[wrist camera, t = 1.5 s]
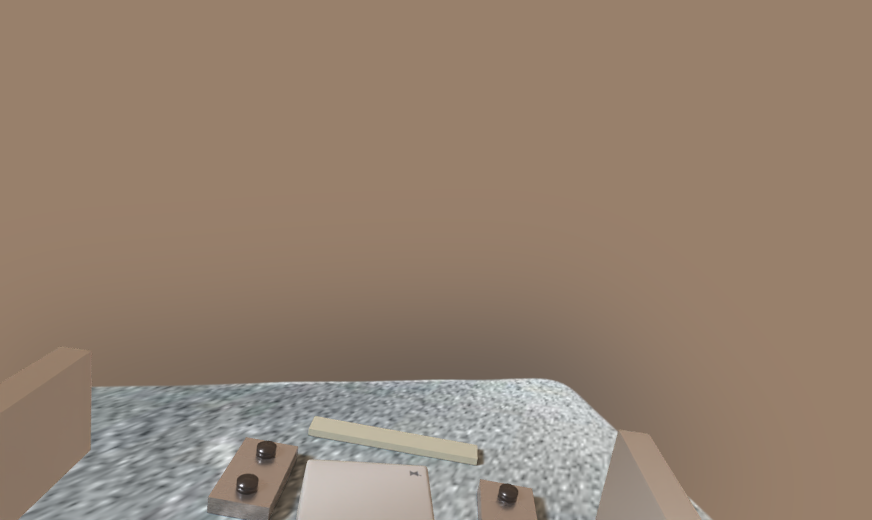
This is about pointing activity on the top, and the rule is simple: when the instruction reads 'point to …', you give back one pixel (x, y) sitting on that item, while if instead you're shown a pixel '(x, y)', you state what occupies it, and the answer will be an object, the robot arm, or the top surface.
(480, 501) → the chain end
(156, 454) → the top surface
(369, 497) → the skincare box
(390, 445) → the cream long thin bar
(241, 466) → the block
